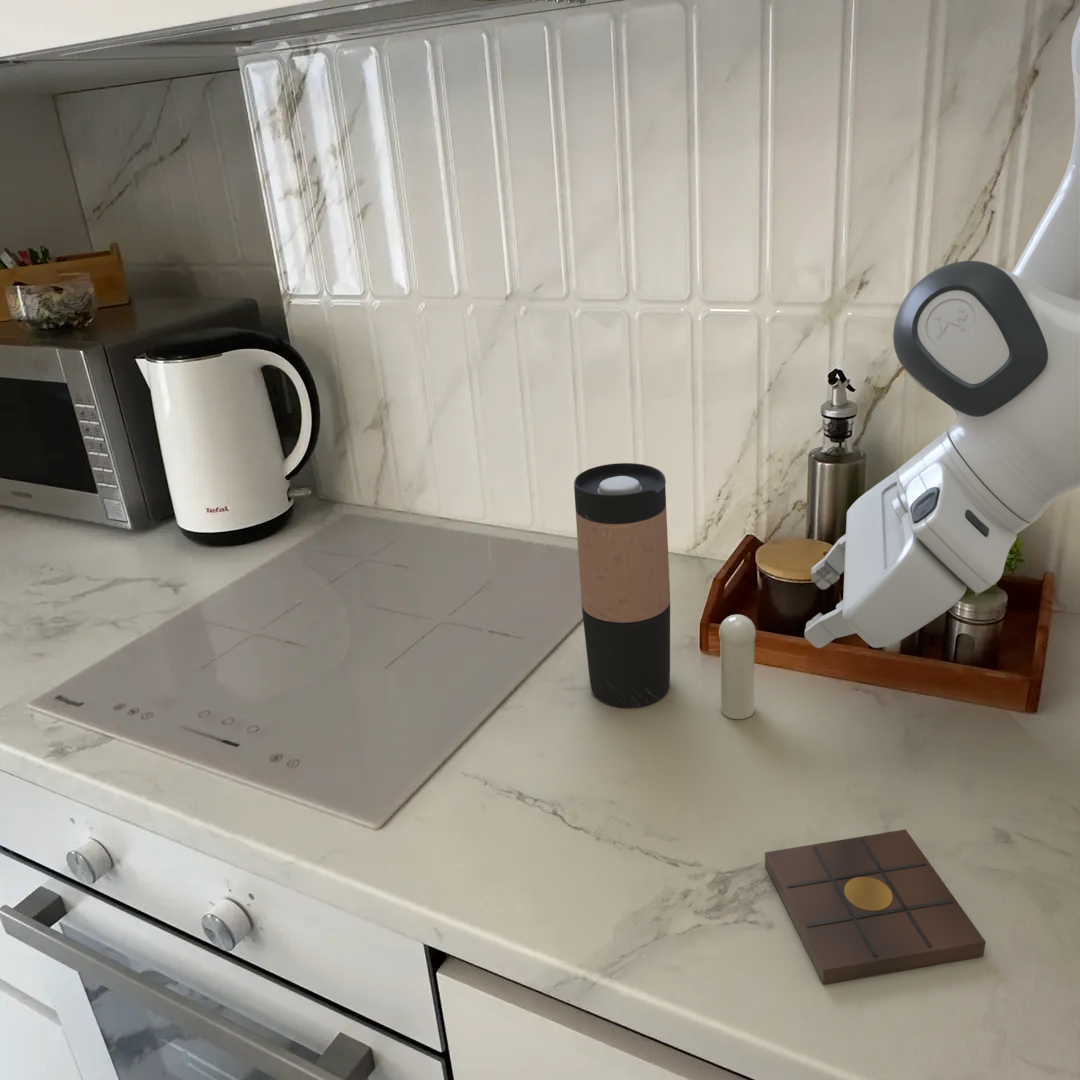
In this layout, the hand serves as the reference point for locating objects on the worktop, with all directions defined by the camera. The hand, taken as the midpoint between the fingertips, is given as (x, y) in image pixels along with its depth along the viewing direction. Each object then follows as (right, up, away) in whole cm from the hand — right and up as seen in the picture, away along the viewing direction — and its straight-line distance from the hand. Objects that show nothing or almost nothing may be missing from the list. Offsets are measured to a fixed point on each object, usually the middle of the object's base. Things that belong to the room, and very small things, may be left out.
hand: (813, 607), depth 78 cm
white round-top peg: (-5, -9, +5) cm, 11 cm away
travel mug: (-14, -8, +10) cm, 19 cm away
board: (-1, -18, -16) cm, 24 cm away
